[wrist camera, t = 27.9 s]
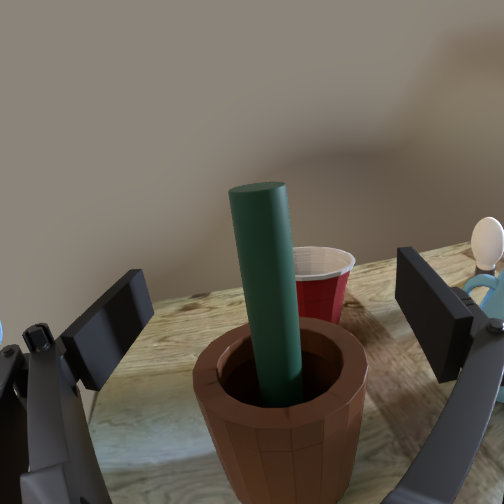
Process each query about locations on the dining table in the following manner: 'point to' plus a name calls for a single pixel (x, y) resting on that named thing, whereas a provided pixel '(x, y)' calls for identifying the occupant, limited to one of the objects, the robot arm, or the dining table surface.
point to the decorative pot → (490, 302)
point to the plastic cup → (321, 281)
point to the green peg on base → (269, 289)
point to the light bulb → (487, 245)
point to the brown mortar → (285, 416)
